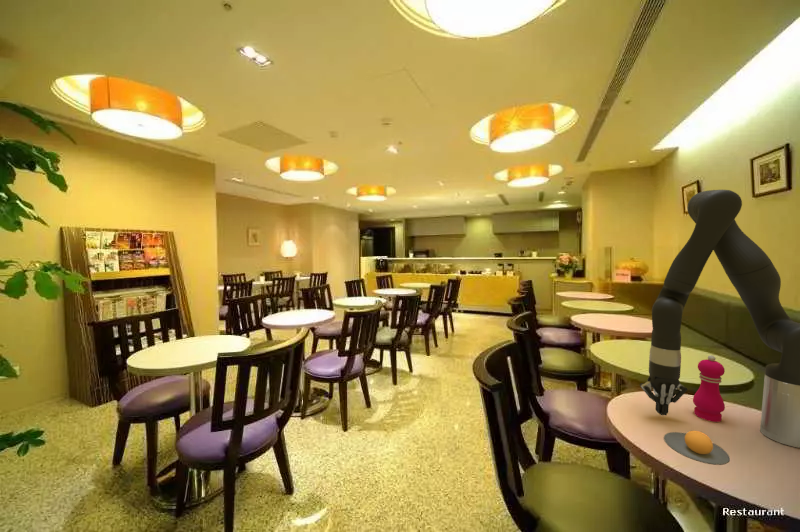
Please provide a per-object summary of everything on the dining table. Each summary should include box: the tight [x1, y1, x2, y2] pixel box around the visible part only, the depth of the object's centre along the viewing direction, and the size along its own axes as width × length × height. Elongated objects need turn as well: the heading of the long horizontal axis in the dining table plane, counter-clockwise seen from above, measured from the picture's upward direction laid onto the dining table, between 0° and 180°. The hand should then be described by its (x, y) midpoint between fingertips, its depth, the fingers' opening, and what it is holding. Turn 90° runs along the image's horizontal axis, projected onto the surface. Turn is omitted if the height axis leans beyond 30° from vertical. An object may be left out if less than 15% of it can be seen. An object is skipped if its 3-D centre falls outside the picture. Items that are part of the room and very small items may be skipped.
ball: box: [685, 430, 713, 454], centre depth 84 cm, size 6×6×6 cm
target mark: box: [663, 431, 730, 465], centre depth 86 cm, size 13×13×1 cm
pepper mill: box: [692, 354, 726, 423], centre depth 99 cm, size 7×7×20 cm
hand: (661, 413), depth 99 cm, fingers closed
